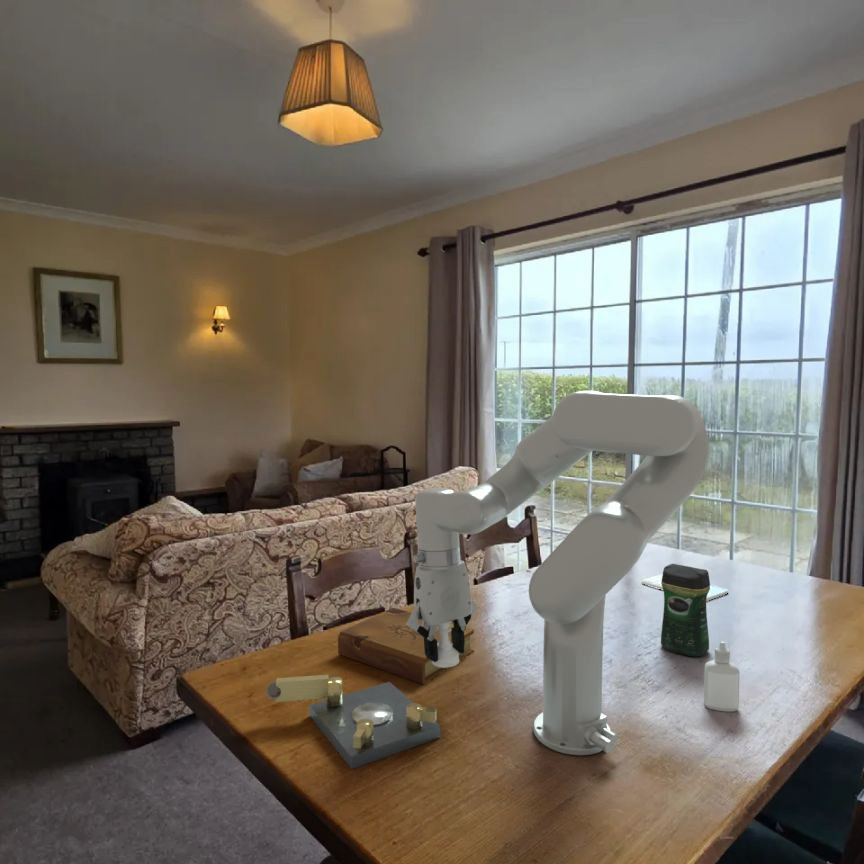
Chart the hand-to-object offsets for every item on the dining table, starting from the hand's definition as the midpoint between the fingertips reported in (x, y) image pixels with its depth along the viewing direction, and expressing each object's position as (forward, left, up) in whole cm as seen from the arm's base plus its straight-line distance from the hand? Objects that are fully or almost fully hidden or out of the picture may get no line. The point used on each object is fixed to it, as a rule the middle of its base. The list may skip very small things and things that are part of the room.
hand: (445, 654), depth 111 cm
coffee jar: (-9, -57, -10) cm, 59 cm away
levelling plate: (0, +15, -9) cm, 17 cm away
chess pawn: (0, 0, -2) cm, 2 cm away
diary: (+22, -4, -10) cm, 25 cm away
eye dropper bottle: (-28, -41, -10) cm, 51 cm away
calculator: (+17, -93, -10) cm, 95 cm away
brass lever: (+9, +23, -7) cm, 26 cm away
